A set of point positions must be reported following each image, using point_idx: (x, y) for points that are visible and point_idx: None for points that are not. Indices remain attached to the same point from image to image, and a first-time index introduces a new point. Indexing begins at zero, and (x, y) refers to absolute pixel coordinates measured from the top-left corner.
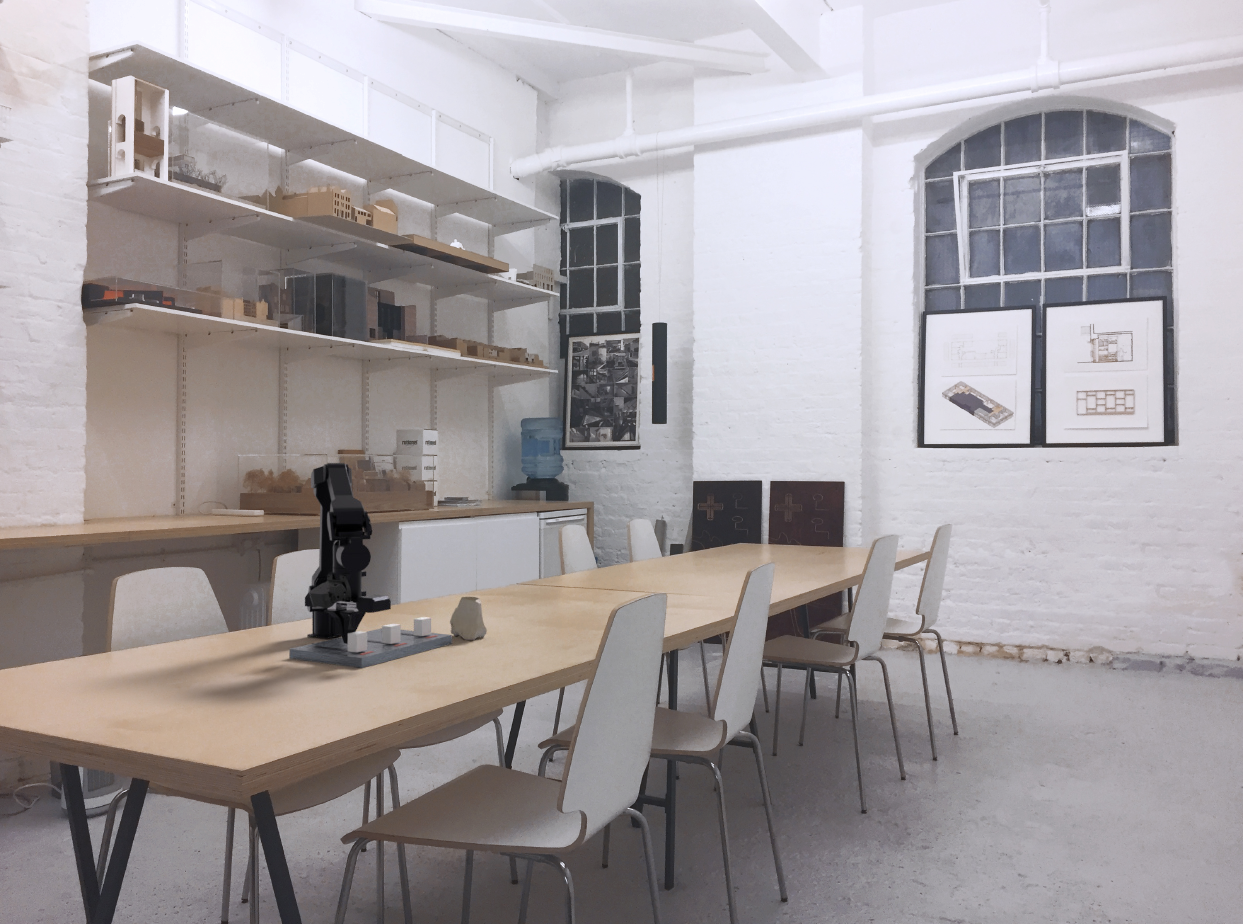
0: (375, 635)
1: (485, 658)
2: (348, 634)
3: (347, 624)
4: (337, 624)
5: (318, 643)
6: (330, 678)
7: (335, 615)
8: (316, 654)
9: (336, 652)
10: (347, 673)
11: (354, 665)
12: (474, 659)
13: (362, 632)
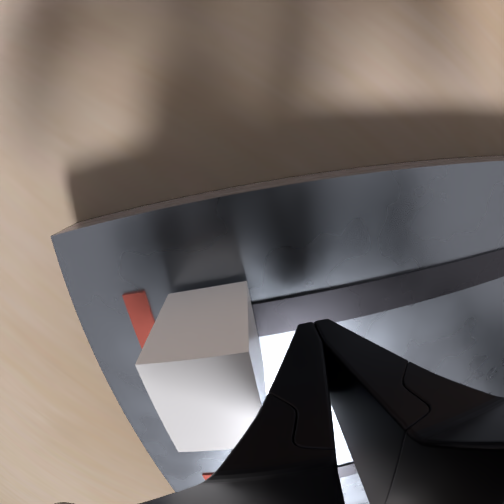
0: None
1: (28, 475)
2: (237, 346)
3: (268, 421)
4: (431, 373)
5: None
6: (29, 24)
7: (488, 423)
8: (417, 165)
9: (318, 238)
10: (37, 114)
11: (115, 213)
12: (27, 465)
13: (189, 432)
